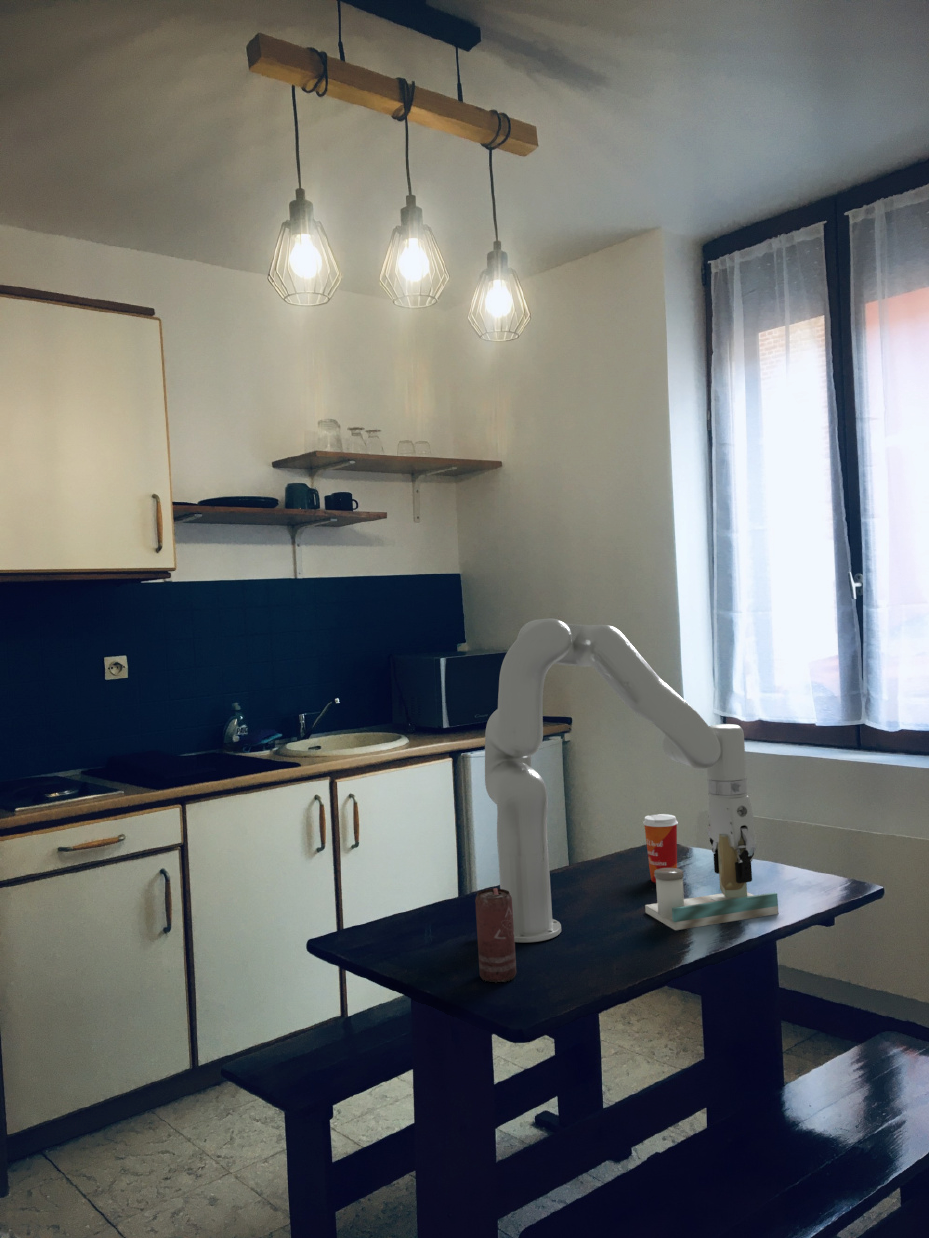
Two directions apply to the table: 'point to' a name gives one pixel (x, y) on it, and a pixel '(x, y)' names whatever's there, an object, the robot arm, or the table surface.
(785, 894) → the table surface
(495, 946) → the can
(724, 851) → the skincare box
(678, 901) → the cream jar
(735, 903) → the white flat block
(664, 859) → the paper cup
